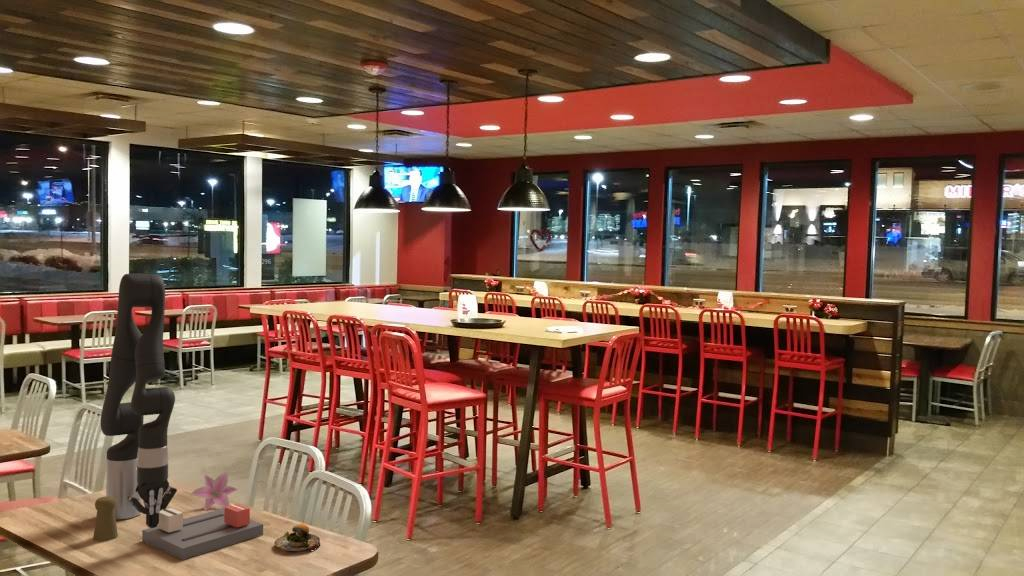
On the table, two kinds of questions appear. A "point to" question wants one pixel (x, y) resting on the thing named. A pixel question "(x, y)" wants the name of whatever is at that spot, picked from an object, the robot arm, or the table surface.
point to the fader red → (237, 515)
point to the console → (200, 535)
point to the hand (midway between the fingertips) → (152, 526)
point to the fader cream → (170, 520)
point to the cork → (105, 519)
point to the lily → (215, 491)
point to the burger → (298, 539)
